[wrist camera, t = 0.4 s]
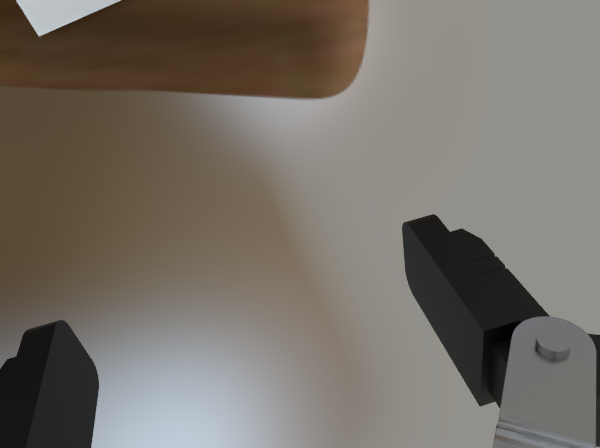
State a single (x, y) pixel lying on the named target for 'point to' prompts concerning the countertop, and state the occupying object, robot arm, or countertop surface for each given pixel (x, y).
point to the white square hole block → (58, 12)
